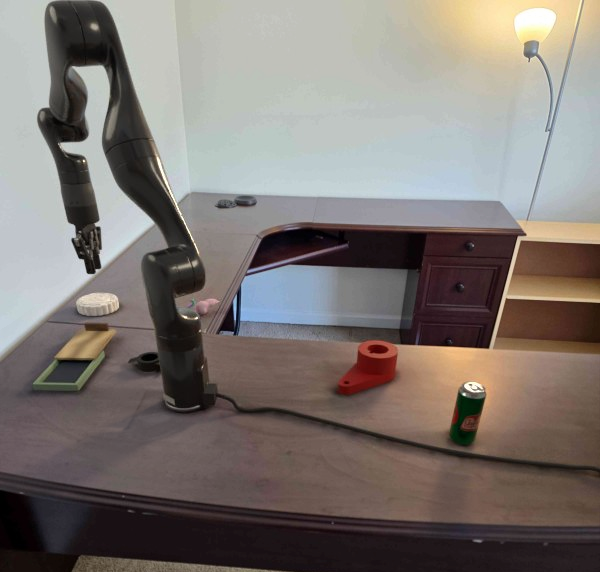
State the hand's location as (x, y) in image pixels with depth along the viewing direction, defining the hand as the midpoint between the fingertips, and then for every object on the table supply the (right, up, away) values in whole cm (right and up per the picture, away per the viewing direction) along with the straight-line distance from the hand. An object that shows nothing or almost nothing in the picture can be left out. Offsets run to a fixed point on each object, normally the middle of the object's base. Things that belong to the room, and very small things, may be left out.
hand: (94, 270), depth 130 cm
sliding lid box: (-1, -28, -12) cm, 30 cm away
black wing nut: (+18, -26, -9) cm, 33 cm away
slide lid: (0, -20, -4) cm, 20 cm away
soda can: (+86, -42, -32) cm, 101 cm away
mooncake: (-8, -6, +23) cm, 25 cm away
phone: (-1, -27, -12) cm, 30 cm away
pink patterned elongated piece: (+23, -9, +20) cm, 32 cm away
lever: (+69, -29, -12) cm, 76 cm away
